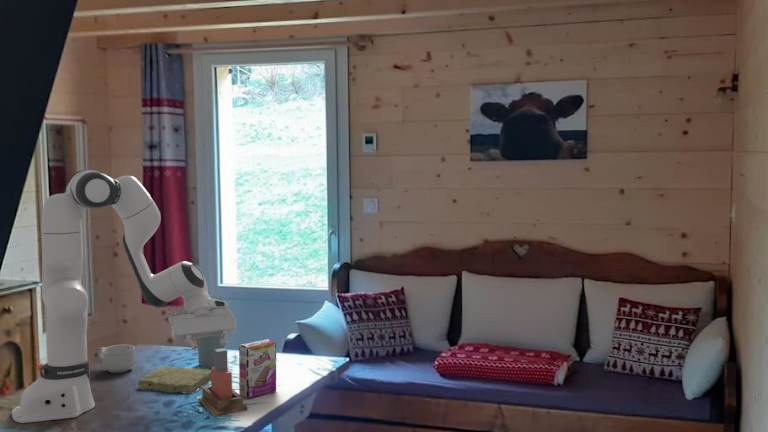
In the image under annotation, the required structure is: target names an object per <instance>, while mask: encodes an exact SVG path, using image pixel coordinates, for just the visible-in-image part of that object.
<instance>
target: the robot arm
mask: <svg viewBox="0 0 768 432" xmlns="http://www.w3.org/2000/svg"><path fill="white" fill-rule="evenodd" d="M110 206H111V207H112V208H113V209H114V211H115V212H116V213H117V215H118V217H119V218H120V220H121V222H122V224H123V226H124V234H123V236H122V238H121V239H122V245H123V247H124V251H125V254H126V256H127V258H128V260H129V263H130V265H131V267H132V271H133V273H134V275H135V278H136V279H137V282H138V285H139V288H140V292H141V294H142V297H143V299H144V301H145V303H146V304H147V305H149V306H152V307H155V308H162V307H164V306H166V305H167V304H168V303H170V302H172V301H174V300H175V299H177V298H180V297H181V298H182V299H183V309H184V311H180V312H172V313H171V314H169V316H168V318H167V319H168V323H169V325H171V327H170V328H171V336H172V339H173V340H175V341H182V340H183V341H184V340H185V343H186V344H187V345H188V346H189V347H190V349H191V351H195V350H198V345H197V341H196V342H194V341H193V340H192V339H197V338H200V337H207V336H215V335H222V337H224V339H221V341H220V343H221V346H224V347H225V346H227V344H228V341H227V336H228V335H229V334H234V333H235V331H236V330H237V328H238V324H237V320H236V318H235V316H234V313H233V311H232V310H231V309H230V308H229V303H228V302H227V301H225V300H221V299H219V300H218V299H214V298H211V296H210V294H209V288H208V284H207V281H206V278H205V276H204V274H203V271H202V270H201V268H200V266H198V265H197V264H194V263H192V262H190V261H186V260H185V261H184V260H183V261H180V262H178V263H176V264H174V265H172V266H169V267H168V268H166V269H164V270H162V271H160V272H158V273H156V274H154V273H152V271H151V269H150V267H149V265H148V263H147V260H146V257H145V255H144V253H143V251H144V250H143V248H144V246H145V244H146V243H148V241H149V240H150V239H151V238H152V237H153V236H154V234H155V233H156V232H157V230H158V228H159V227H160V225H161V222H162V221H161V219H162V218H161V215H162V214H161V211H160V210H159V208H158V206H157V204H156V203H155V201H154V200H153V198H152V197H151V194H150V193H149V191H147V190H146V188H145V186H143V184H142V183H141V182H140V181H139V180H138V179H137V178H136V177H134V176H133V175H122V176H119V177H117V178H115V179H114V178H112V177H111V176H109V175H108V174H106V173H104V172H103V173H102V172H100V171H98V170H94V169H82V170H79V171H77V172H75V173H74V174H73V175H71V176H70V178H69V180H68V181H67V183H66V185H65V187H64V188H63V190H62V192H61V193H55V194H53V195H49V197H47V198H46V199H45V201H44V203H43V207H42V212H41V213H42V214H41V250H42V251H41V253H42V265H41V266H42V267H41V268H42V269H41V271H42V272H41V275H42V276H41V298H42V301H43V303H44V305H45V308H46V335H45V343H46V362H45V363H42V362H39V363H38V364H37V365H36V368H37V370H38V372H39V376H40V377H38V378H37V379H36V380H35V381H34V382H33V383H31V384H30V385H28V386H27V388H25V389H24V390H23V392H22V393H21V397H20V400H19V401H20V402H19V405H18V406H16V407H14V408H13V409H12V411H11V418H12V419H13V421H15V422H17V423H20V424H25V423H34V422H35V423H36V422H43V421H52V420H63V419H70V418H71V419H72V418H77V417H79V416H81V415H82V414H83V413H86V412H88V411H90V410H92V409H93V408H95V405H96V403H95V400H94V397H93V393H92V390H91V385H90V384H91V383H90V376H91V369H90V368H91V367H90V366H91V365H90V360H89V358H88V342H87V329H88V317H89V316H88V312H89V295H88V293H87V291H86V289H85V288H84V287H83V284H82V283H83V282H82V278H83V263H84V262H83V261H84V239H83V238H84V237H83V222H82V221H83V216H84V213H85V211H86V210H87V209H88V208H90V209H102V208H105V207H110Z"/></svg>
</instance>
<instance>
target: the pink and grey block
mask: <svg viewBox="0 0 768 432" xmlns="http://www.w3.org/2000/svg"><path fill="white" fill-rule="evenodd" d="M214 363H215V366H213V367H210V370H211V381H210V384H211V385H210V386H211V392H213V393H214V394H215V395H216V396H217V397H218V398H219V399H220V400H225V399H230V398H232V389H233V372H232V371H231V370H229V369H228V350H227V349H226V348H225V347H224V348H221V349H214Z"/></svg>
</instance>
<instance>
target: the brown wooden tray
mask: <svg viewBox="0 0 768 432" xmlns="http://www.w3.org/2000/svg"><path fill="white" fill-rule="evenodd" d="M197 400H199V401H200V402H201V403H202V404H203V405H204V406H205V407H206V408H205V407H204V406H203V405H202V404H201V403H200V402H199V401H198V402H199V403H200V404H201V405H202V406H203V407H204V408H205V409H206V410H207V411H208V412H210V414H211V415H212V416H213V417H218V416H224V415H229V414H235V413H239V412H245V411H248V406H247V405H246V404H245V403H244V397H242V396H240V395H239V393H238V392H237V391H235V390H234V389H233V388H232V398H230V399H225V400H220V399H219V398H218V397H217V396H216V395H215V394H214V393H213V392H211V385H209V386H203V387H201V396H200V397H198V399H197Z"/></svg>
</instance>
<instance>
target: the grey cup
mask: <svg viewBox="0 0 768 432" xmlns="http://www.w3.org/2000/svg"><path fill="white" fill-rule="evenodd" d="M221 339H224V337H222V335H215V336H207V337H200V338H196V345H197V354H198V357H197V358H198V359H197V360H198V366H199V365H200V367H201V366H204V367H203V368H211V367H213V366H215V363H214V349H221V348H224V349H225V346H221V343H220V341H221Z"/></svg>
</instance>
